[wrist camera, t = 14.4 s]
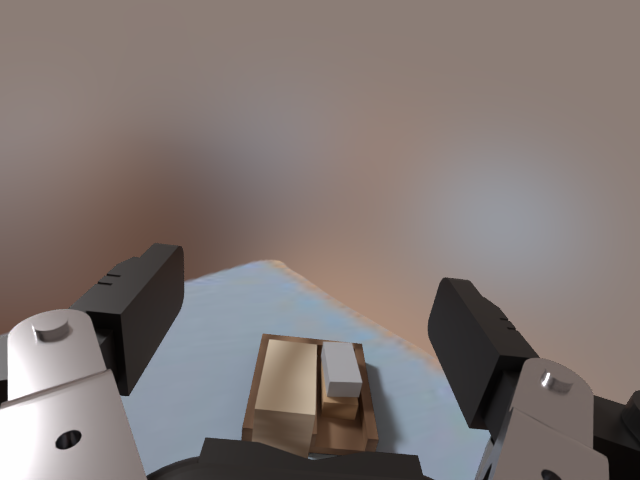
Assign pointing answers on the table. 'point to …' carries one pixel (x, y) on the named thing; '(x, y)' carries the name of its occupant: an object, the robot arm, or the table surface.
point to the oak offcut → (336, 403)
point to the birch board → (287, 397)
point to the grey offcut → (340, 370)
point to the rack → (326, 431)
